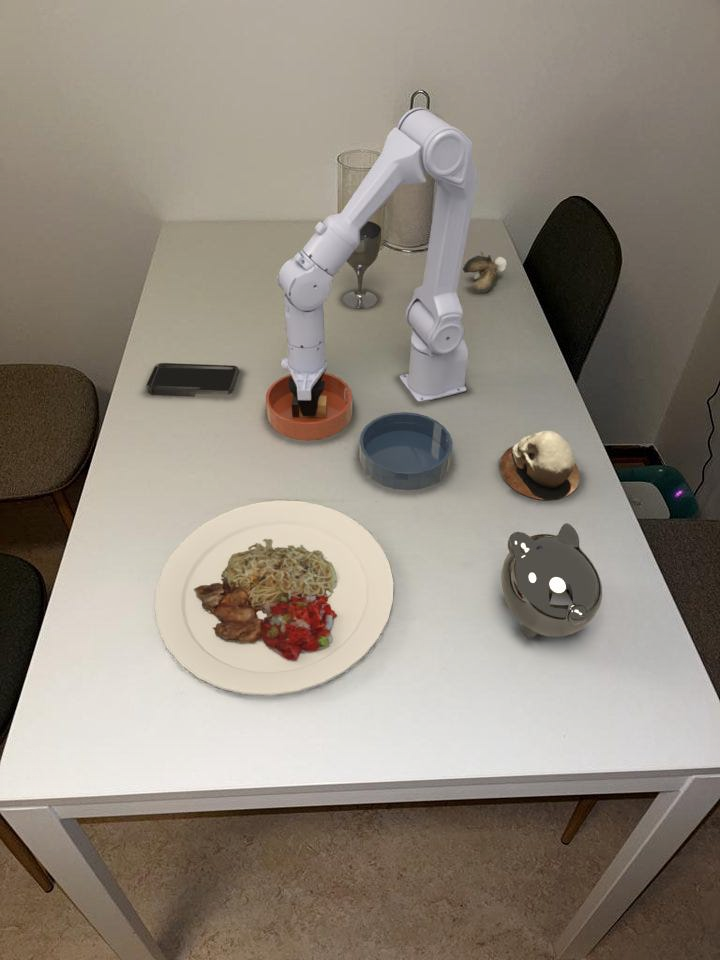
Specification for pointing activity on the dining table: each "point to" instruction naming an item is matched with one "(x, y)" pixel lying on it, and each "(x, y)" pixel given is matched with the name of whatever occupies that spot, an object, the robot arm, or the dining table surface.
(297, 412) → the tan block dark cap
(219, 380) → the phone
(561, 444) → the skull
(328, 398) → the terracotta bowl
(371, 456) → the slate bowl
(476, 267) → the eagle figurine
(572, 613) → the piggy bank
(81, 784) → the dining table surface
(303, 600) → the plated food
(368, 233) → the wine glass
